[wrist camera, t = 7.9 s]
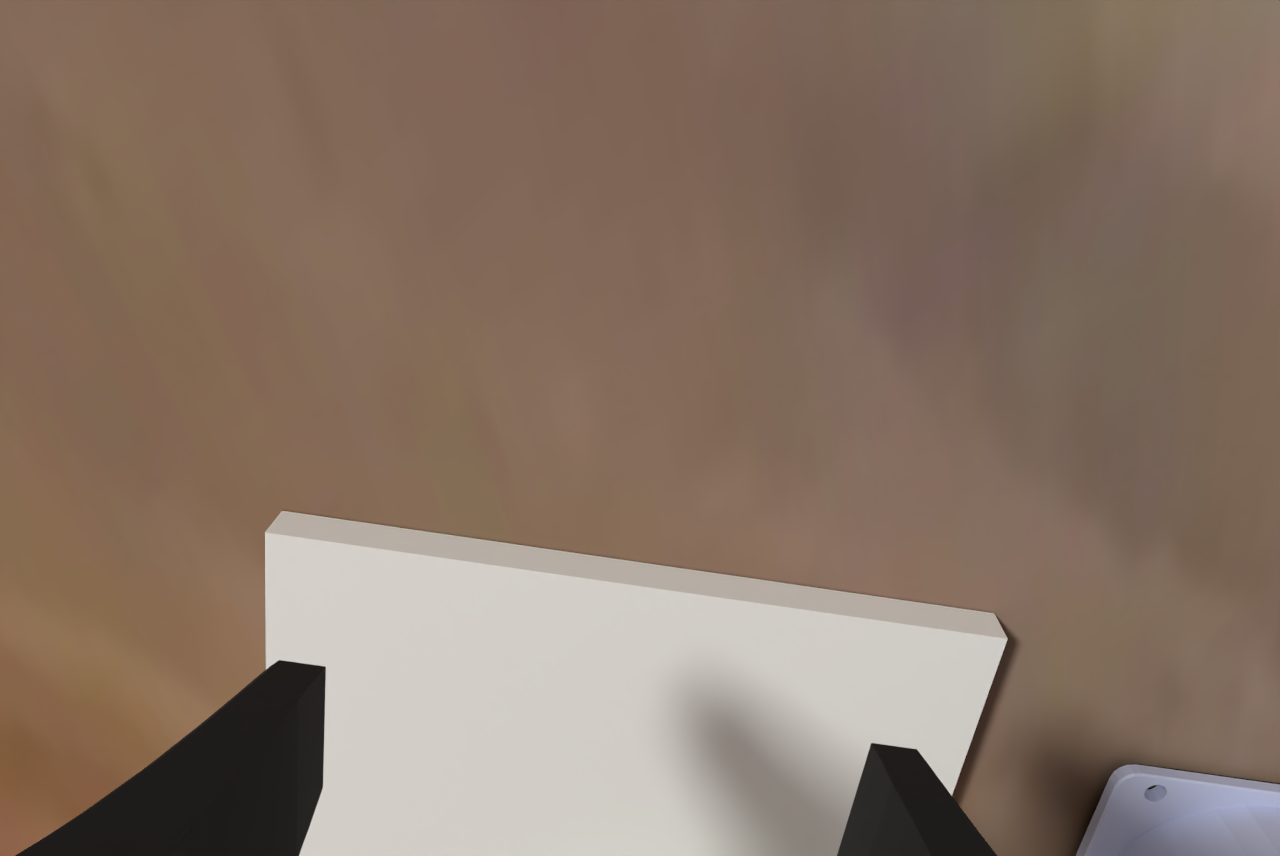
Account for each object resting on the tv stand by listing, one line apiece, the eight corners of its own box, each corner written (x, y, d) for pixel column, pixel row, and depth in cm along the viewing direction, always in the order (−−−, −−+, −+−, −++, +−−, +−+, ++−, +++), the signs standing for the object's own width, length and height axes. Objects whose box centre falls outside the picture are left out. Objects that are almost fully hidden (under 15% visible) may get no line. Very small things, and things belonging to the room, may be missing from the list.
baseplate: (994, 613, 23) (1009, 641, 22) (830, 1085, 30) (836, 1124, 29) (281, 510, 22) (263, 534, 21) (280, 1014, 29) (266, 1050, 28)
